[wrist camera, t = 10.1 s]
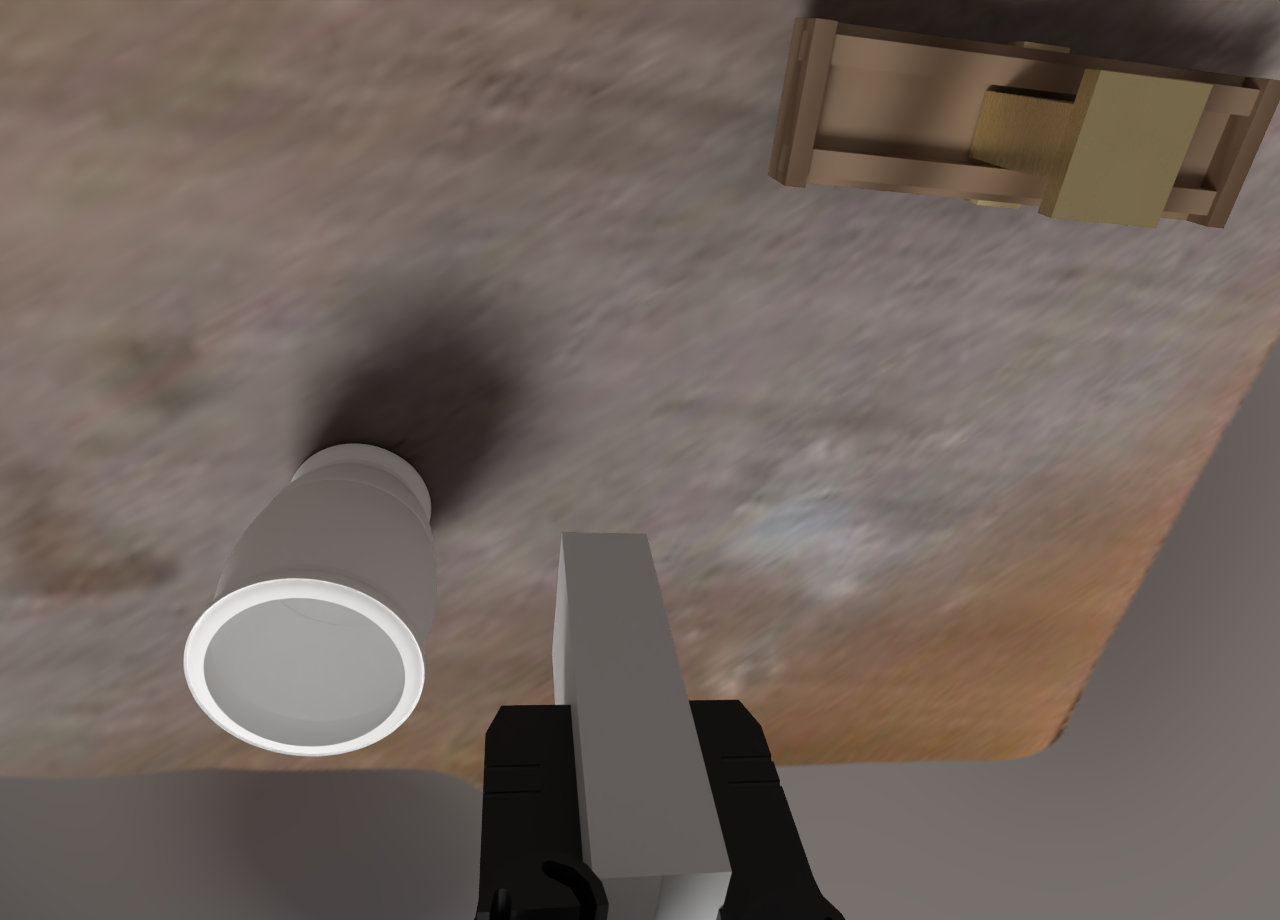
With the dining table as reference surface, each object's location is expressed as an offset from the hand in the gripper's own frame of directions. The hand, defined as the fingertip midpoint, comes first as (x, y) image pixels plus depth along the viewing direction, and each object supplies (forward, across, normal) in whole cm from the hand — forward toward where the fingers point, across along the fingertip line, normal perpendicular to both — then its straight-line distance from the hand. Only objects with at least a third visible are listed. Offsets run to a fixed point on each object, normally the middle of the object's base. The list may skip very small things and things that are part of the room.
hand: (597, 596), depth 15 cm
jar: (+33, -10, -18) cm, 39 cm away
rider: (+28, +23, +7) cm, 37 cm away
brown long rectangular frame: (+32, +23, +7) cm, 40 cm away
